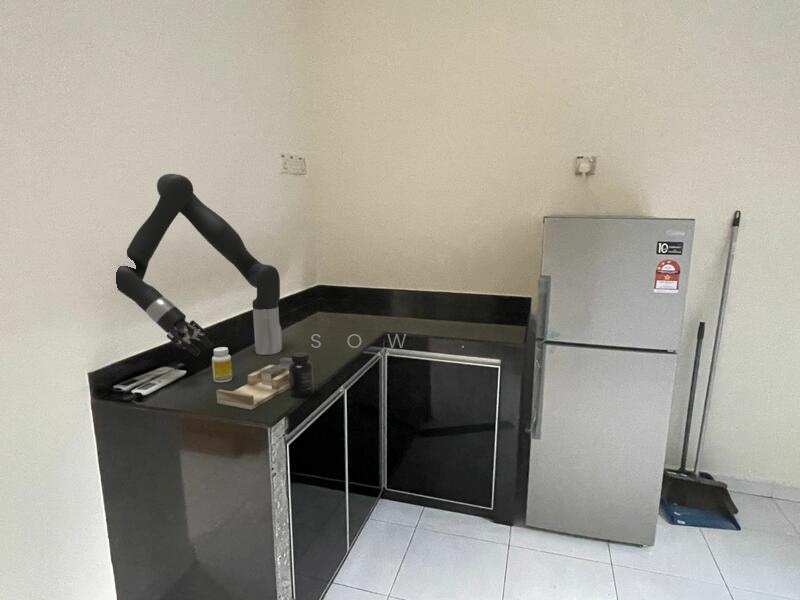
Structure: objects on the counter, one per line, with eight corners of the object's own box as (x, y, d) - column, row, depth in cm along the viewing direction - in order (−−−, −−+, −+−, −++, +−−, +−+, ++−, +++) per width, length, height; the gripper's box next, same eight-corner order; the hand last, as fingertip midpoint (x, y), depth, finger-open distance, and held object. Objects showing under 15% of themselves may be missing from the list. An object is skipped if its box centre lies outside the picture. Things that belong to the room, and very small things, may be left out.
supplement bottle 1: (210, 380, 152) (207, 349, 150) (227, 375, 156) (224, 345, 154) (218, 384, 148) (216, 352, 146) (235, 379, 152) (233, 348, 150)
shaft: (284, 371, 156) (283, 357, 155) (296, 373, 154) (296, 359, 153) (260, 383, 145) (259, 368, 144) (273, 386, 143) (272, 370, 142)
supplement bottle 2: (315, 389, 144) (313, 350, 142) (312, 397, 137) (310, 357, 135) (292, 389, 144) (290, 351, 142) (288, 398, 137) (286, 358, 135)
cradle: (269, 376, 155) (269, 364, 154) (300, 381, 150) (300, 368, 149) (217, 403, 134) (216, 388, 133) (251, 409, 129) (250, 395, 129)
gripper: (160, 311, 142) (201, 348, 143) (184, 301, 156) (221, 336, 157) (145, 328, 143) (186, 365, 144) (170, 317, 157) (207, 351, 158)
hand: (204, 350), depth 151 cm, fingers open, 8 cm apart
